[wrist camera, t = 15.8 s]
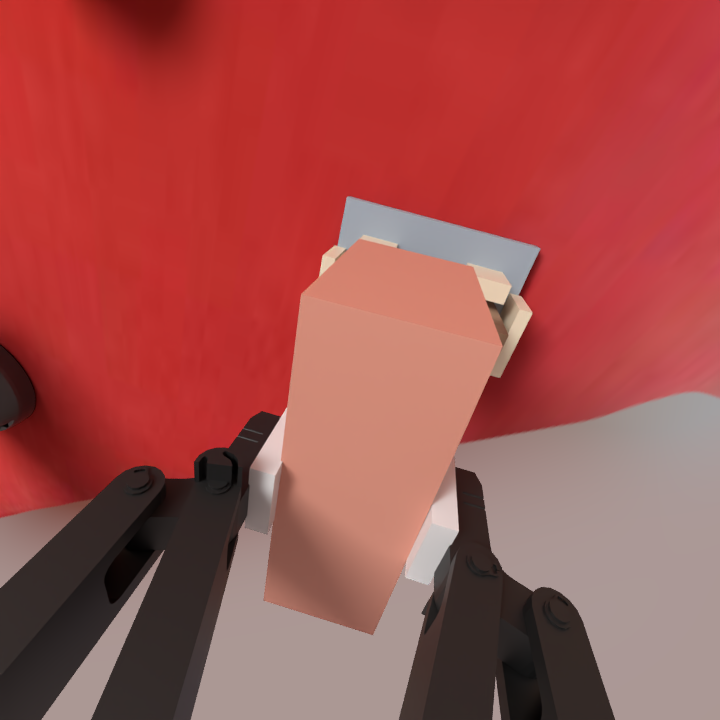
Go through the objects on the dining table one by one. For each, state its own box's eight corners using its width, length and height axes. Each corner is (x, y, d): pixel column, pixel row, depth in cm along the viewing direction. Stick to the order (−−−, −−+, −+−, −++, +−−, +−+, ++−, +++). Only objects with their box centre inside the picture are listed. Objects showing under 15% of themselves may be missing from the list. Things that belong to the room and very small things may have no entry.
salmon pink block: (314, 471, 21) (263, 600, 14) (359, 238, 14) (301, 294, 8) (391, 494, 20) (373, 634, 14) (473, 267, 14) (502, 346, 8)
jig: (319, 340, 37) (304, 363, 33) (346, 195, 30) (332, 200, 26) (475, 385, 37) (481, 414, 32) (540, 247, 30) (558, 261, 25)
